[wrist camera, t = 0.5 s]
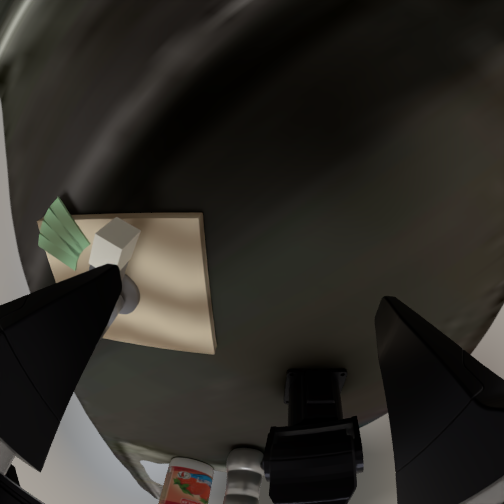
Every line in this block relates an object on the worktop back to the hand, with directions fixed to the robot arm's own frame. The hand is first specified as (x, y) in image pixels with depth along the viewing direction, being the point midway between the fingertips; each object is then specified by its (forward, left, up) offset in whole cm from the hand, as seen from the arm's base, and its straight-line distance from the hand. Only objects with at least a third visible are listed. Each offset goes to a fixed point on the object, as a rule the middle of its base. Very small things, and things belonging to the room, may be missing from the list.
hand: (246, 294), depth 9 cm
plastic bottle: (-43, +2, -13) cm, 45 cm away
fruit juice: (-56, +14, -13) cm, 59 cm away
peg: (-6, +11, -10) cm, 16 cm away
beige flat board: (-8, +14, -13) cm, 20 cm away
